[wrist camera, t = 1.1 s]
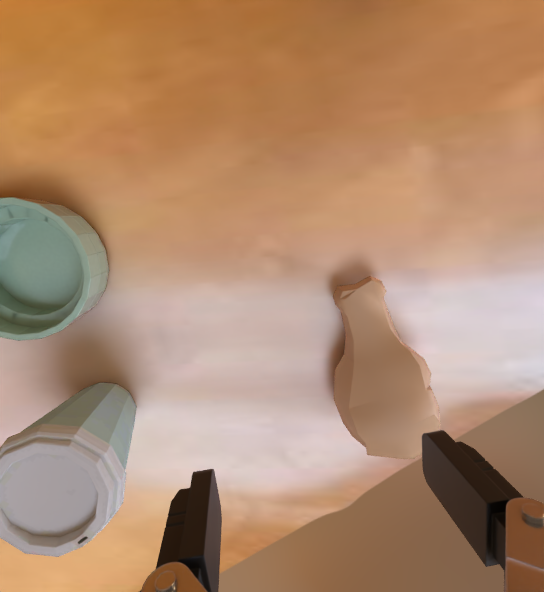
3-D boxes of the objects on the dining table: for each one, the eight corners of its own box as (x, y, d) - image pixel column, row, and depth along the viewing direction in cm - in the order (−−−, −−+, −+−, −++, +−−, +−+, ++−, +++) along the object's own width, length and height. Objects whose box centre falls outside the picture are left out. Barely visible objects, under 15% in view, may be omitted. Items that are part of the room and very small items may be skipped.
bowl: (-34, 204, 36) (-81, 202, 31) (100, 197, 37) (77, 193, 32) (-6, 328, 39) (-45, 346, 33) (118, 318, 40) (100, 334, 35)
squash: (349, 442, 46) (358, 489, 37) (303, 291, 44) (300, 302, 35) (436, 422, 45) (467, 465, 36) (392, 265, 43) (413, 269, 34)
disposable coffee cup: (39, 398, 41) (-70, 498, 26) (115, 342, 40) (47, 412, 26) (104, 463, 43) (37, 588, 29) (177, 411, 43) (146, 511, 28)
